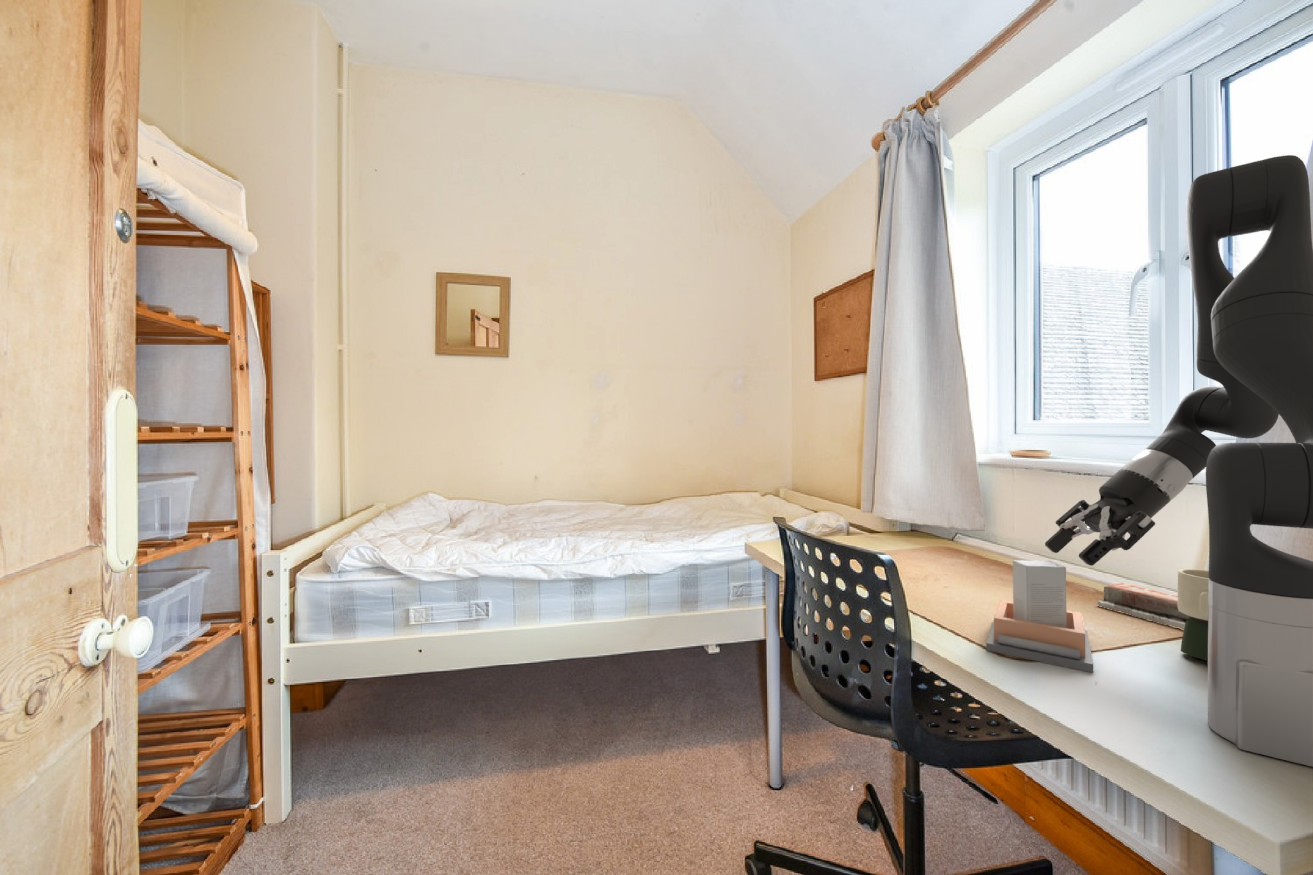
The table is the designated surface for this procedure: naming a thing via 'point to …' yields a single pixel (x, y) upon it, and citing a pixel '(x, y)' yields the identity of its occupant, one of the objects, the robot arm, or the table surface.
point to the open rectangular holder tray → (1041, 639)
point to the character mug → (1194, 611)
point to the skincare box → (1039, 592)
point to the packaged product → (1144, 604)
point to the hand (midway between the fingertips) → (1066, 554)
